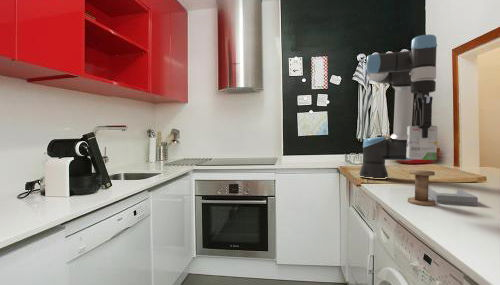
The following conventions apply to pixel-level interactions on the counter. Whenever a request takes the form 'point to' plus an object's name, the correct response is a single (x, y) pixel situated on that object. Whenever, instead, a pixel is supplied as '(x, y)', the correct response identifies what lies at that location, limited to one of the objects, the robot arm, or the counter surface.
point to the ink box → (413, 144)
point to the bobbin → (421, 188)
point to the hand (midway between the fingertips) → (421, 147)
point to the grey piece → (453, 197)
